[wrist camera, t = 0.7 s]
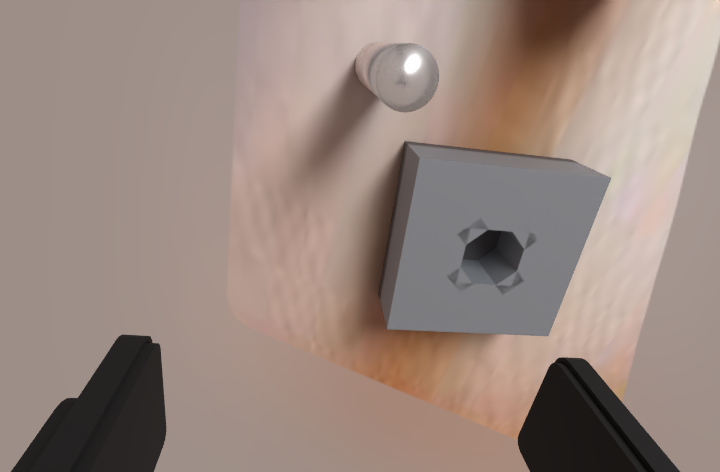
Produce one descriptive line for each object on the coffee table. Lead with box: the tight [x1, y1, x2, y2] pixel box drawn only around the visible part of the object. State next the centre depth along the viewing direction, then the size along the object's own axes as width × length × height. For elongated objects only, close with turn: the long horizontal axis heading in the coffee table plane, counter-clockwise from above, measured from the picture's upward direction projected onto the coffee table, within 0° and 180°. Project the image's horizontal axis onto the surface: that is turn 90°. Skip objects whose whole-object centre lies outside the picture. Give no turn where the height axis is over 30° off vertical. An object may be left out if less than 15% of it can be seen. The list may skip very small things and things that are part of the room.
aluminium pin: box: [355, 43, 439, 112], centre depth 24 cm, size 3×3×11 cm
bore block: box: [378, 141, 611, 336], centre depth 33 cm, size 14×14×5 cm
